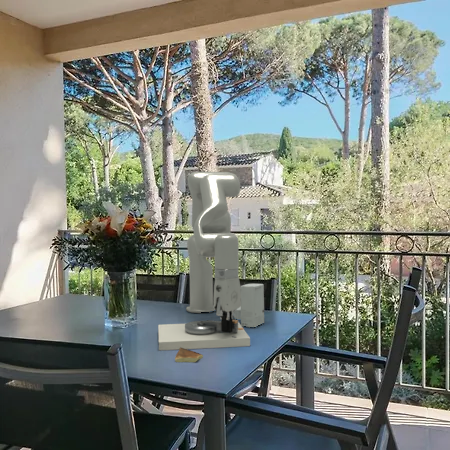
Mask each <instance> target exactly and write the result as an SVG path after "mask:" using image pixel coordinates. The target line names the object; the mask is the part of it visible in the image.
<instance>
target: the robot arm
mask: <svg viewBox="0 0 450 450" xmlns="http://www.w3.org/2000/svg"><path fill="white" fill-rule="evenodd" d="M187 186H188V189H189V192H190V195H191V201H192V203H191V204H192V205H191V228H192V229H193V235H190V236H189V238H188V239H187V240H186V241H187V242H186V243H187V244H186V246H187V251H188V252H187V254H188V260H189V261H188V262H189V305H188V306H186V309H185V310H186V311H187V312H188V313H194V314H202V313H201V312H209V313H211V312H210V311H214V310H216V311H214V312H216V313H215V314H216V316H218V317H220V321H221V331H222V332H228V333H230V332H232V331H233V320H234V312H235V311H236V310H237V309H238V308H239V307H240V306H241V288H240V286H241V283H240V277H239V238H238V236H237V235H235V234H234V233H232V232H231V229H232V228H231V227H232V219H231V214H230V212H229V211H228V210H229V205H228V203H227V198H236V197H238V196H239V195H240V192H241V182H240V179H239V177H238V176H237V174H235V173H233V172H229V171H193V172H191V173H190V174H189V175H188V176H187ZM207 258H214V269H213V266H212V264H211V263H210V262H209V261H208V259H207ZM213 271H214V276H213ZM213 277H214V283H213ZM213 284H214V285H213Z"/></svg>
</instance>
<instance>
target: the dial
mask: <svg viewBox="0 0 450 450" xmlns="http://www.w3.org/2000/svg"><path fill="white" fill-rule="evenodd" d="M238 322H239V320H236V319H233V331H232V333H237V332H238ZM184 324H185V332H187V333H190V334H197V335H204V334H212V333H215V332H222V331H221V320H209V319H208V320H194V321H189V322H187V323H184Z"/></svg>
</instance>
